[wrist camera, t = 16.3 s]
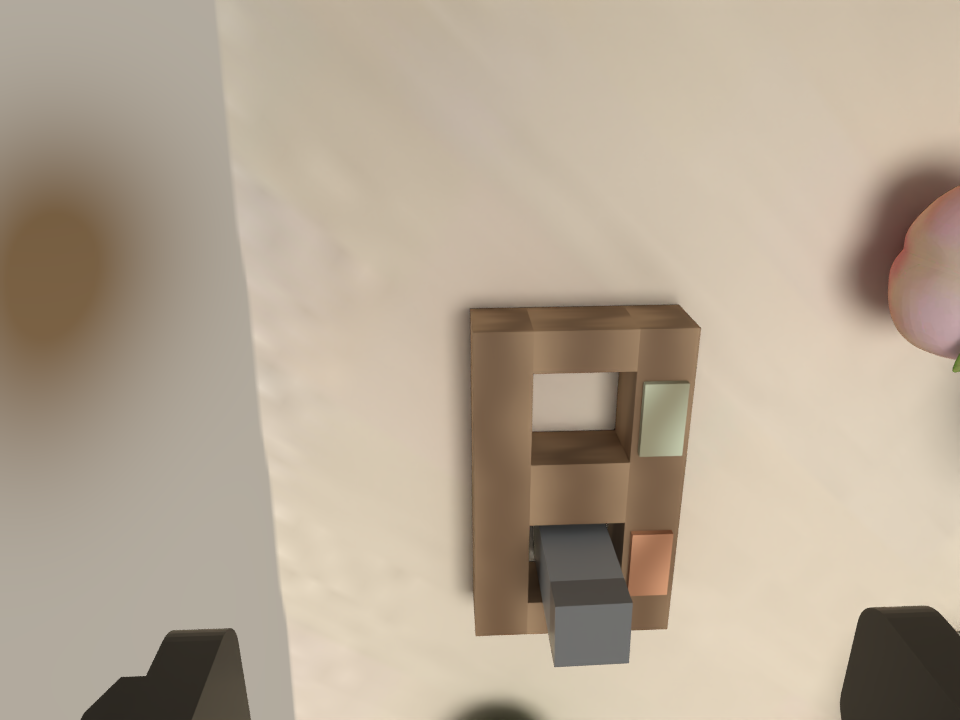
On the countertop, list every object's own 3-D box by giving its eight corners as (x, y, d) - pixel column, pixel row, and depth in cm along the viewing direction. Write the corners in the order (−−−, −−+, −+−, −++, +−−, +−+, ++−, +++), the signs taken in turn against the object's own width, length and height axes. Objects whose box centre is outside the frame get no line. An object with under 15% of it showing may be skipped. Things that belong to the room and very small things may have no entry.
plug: (596, 496, 48) (632, 602, 38) (594, 549, 49) (628, 663, 40) (533, 499, 48) (555, 607, 38) (533, 551, 49) (554, 667, 40)
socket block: (678, 304, 43) (703, 330, 39) (650, 587, 51) (668, 633, 47) (470, 308, 43) (472, 335, 38) (473, 593, 50) (475, 640, 46)
